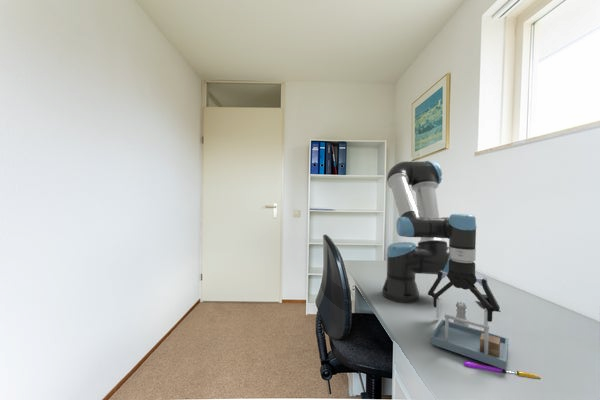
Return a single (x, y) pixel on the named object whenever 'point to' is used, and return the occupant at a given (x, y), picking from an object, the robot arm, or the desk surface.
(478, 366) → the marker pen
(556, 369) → the desk surface
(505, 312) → the desk surface
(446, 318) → the tray
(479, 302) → the black piece
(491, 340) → the walnut block
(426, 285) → the desk surface
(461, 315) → the rook chess piece
